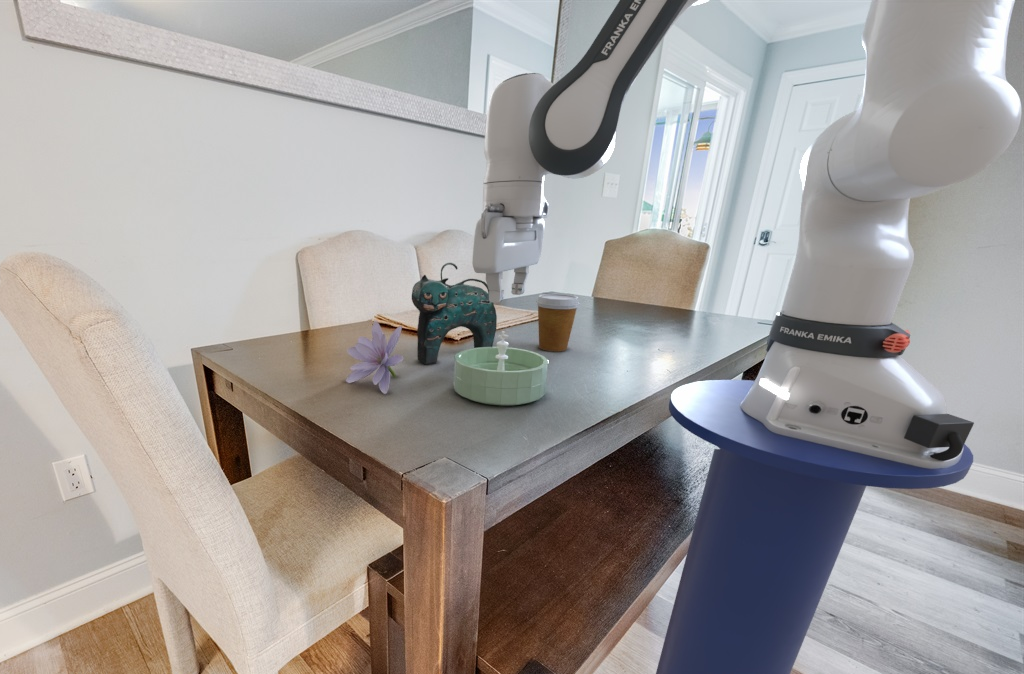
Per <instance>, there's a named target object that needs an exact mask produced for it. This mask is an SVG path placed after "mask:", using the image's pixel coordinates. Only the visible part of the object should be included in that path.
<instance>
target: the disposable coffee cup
mask: <svg viewBox="0 0 1024 674" xmlns="http://www.w3.org/2000/svg"><path fill="white" fill-rule="evenodd" d="M535 302H536V306H537V321H538V348H539V349H541V350H543V351H546V352H565V351H567V349H568V345H569V341H570V337H571V334H572V330H573V325H574V321H575V319H576V318H575V317H576V314H577V310H578V308H579V306H580V304H581V302H579V297H578V296H577V295H573V294H565V293H564V294H563V293H542V294H539V295H538V298H537V300H536V301H535Z"/></svg>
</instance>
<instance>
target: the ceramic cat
mask: <svg viewBox="0 0 1024 674" xmlns="http://www.w3.org/2000/svg"><path fill="white" fill-rule="evenodd" d="M448 265H450V266H453V267H454V268H455V270H458V269H459V268H458V265H456V264H455V263H453V262H446V263H445V264H443V265H442V266H441V269H440V280H434V279H430V278H428V277H427V275H426V274H423V276H422V277H421V279H420V280H418V281H416V282H415V283H414V284H413V286H412V290H411V301H412V304H413V306H414V307H415V308H416V309H417V310H418V312H419V315H418V320H417V321H418V322H417V330H416V335H417V349H416V350H417V351H416V353H417V361H418V362H419V363H421V364H422V365H426V366H428V365H434V364H437V363H438V358H439V357H438V356H439V353H440V348H441V345H442V343H443V342H444V340H445V338H446V336H447V335H448V333H449V332H451V331H452V330H455V329H458V328H460V327H461V328H465V329H468V330H469V331H470V332H471V334H472V340H473V348H479V347H494V341H495V338H496V337H495V336H496V332H497V326H498V325H497V323H498V322H497V320H498V315H497V310H496V307H495V303H493V302H490V301H489V289H488V286H487V282H486V281H485V280H484V281H483V280H482V279H477V278H467V279H463V280H462V281H459V282H457V283H455V284H452V285H451V284H447V283H446V282H447V281H448V280H449V277H445V278H443V270H444V268H445V267H446V266H448ZM466 282H478V283H481V284H483V285H484V286H485V288H486V290H484V288H481V287H480V286H476V285H472V284H471V285H470V284H465V283H466Z"/></svg>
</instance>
